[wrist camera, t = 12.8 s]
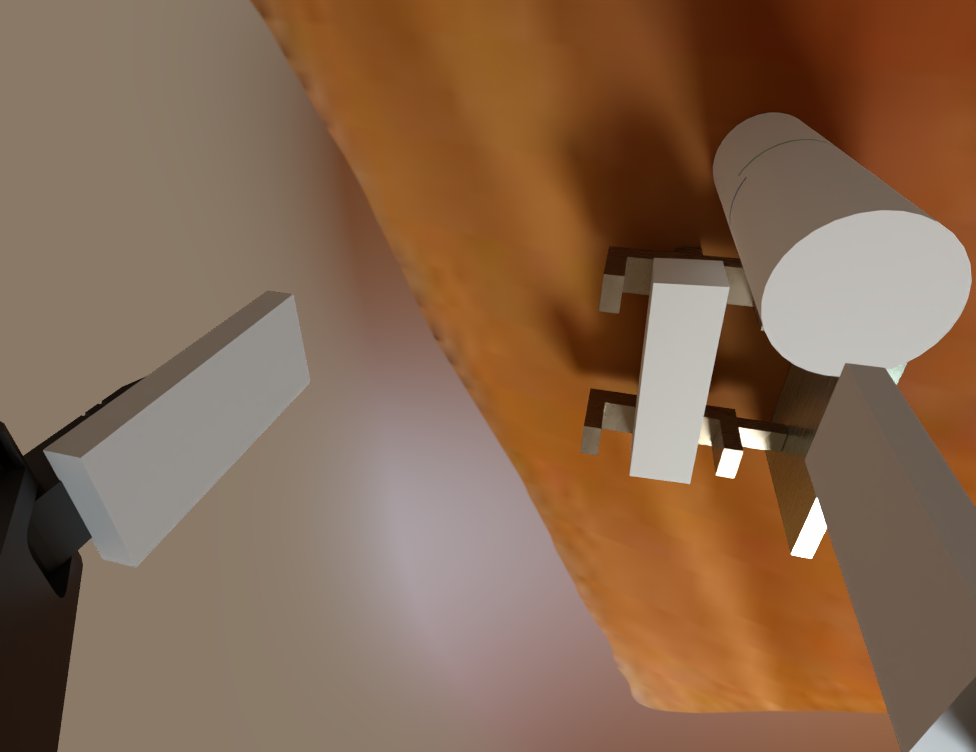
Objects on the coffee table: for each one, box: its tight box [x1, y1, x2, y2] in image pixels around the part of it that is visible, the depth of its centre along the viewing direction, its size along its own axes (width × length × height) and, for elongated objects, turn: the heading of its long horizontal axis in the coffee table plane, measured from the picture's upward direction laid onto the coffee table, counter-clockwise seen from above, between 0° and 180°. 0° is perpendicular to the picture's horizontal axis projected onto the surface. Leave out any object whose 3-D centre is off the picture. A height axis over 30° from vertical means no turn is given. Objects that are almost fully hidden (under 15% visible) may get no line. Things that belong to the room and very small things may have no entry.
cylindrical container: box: [713, 112, 972, 377], centre depth 32 cm, size 7×7×25 cm
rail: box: [630, 258, 730, 484], centre depth 46 cm, size 18×5×5 cm, turn 3°
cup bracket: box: [580, 246, 907, 559], centre depth 45 cm, size 22×19×14 cm
